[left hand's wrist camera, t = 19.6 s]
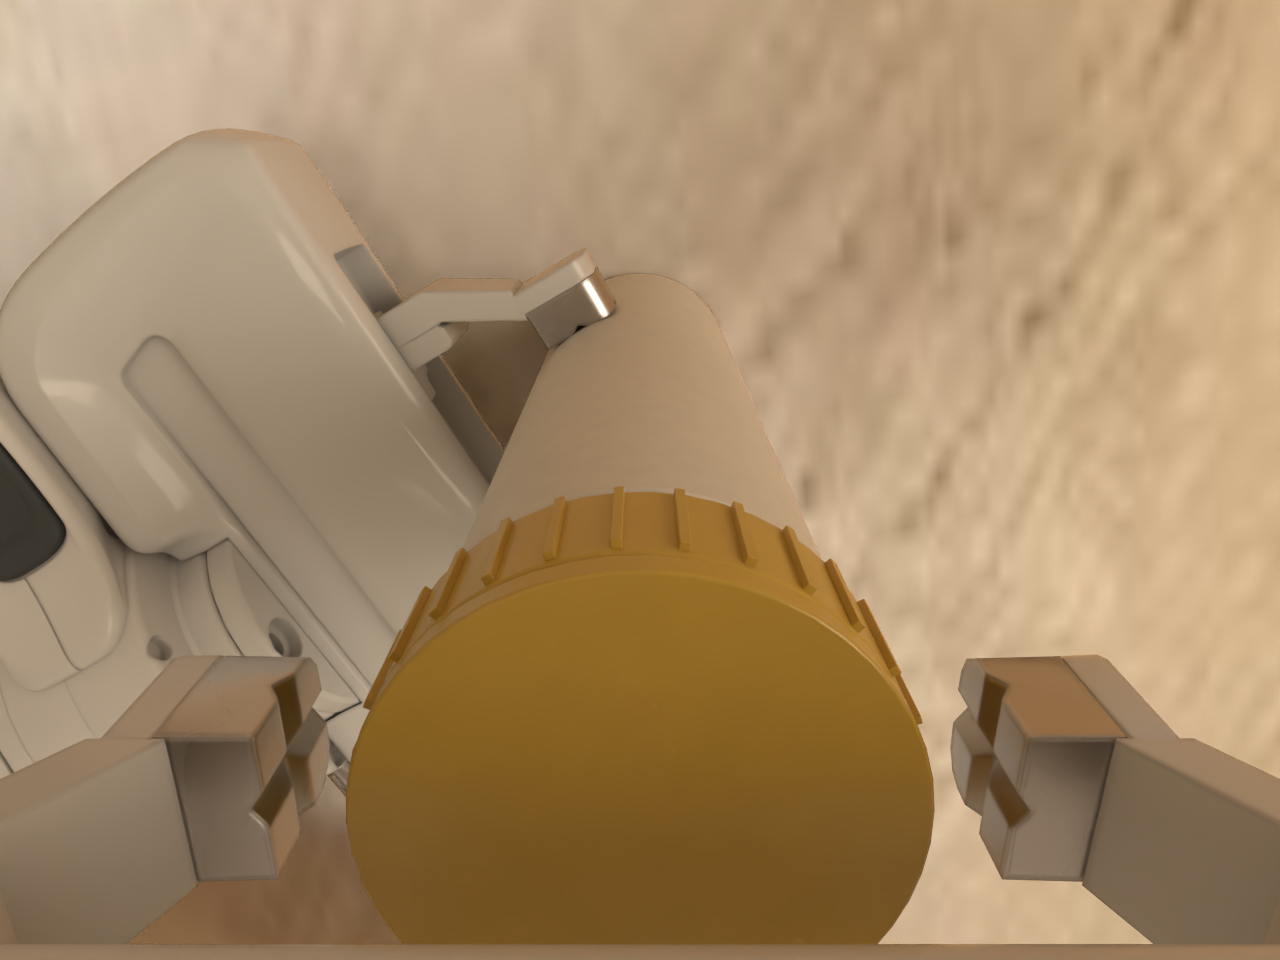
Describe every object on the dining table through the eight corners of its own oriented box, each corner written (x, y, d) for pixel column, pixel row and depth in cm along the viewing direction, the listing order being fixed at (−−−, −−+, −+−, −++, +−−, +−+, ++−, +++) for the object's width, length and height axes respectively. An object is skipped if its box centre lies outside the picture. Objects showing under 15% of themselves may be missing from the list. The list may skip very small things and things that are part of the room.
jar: (664, 472, 28) (708, 1030, 10) (521, 386, 27) (301, 843, 10) (759, 334, 27) (1001, 717, 9) (611, 237, 26) (549, 452, 8)
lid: (975, 568, 10) (1051, 664, 8) (785, 948, 12) (811, 1094, 10) (454, 413, 9) (408, 481, 7) (346, 844, 11) (290, 980, 9)
